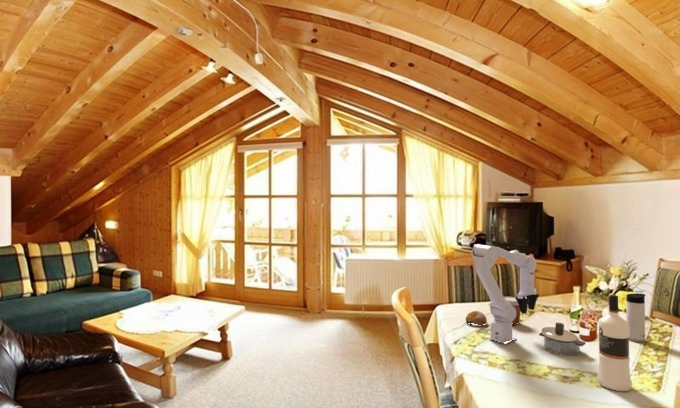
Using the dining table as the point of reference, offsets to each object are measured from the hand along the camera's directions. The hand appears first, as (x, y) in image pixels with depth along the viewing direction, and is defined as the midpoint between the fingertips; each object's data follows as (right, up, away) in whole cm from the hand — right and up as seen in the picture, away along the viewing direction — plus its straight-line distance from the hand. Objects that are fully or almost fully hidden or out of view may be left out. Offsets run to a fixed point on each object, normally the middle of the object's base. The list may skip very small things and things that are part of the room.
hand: (527, 311), depth 171 cm
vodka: (+5, -11, -47) cm, 49 cm away
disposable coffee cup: (0, -10, +16) cm, 19 cm away
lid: (+4, -6, -17) cm, 18 cm away
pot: (+5, -11, -18) cm, 21 cm away
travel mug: (+42, -10, -9) cm, 44 cm away
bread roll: (-18, -11, +16) cm, 26 cm away
